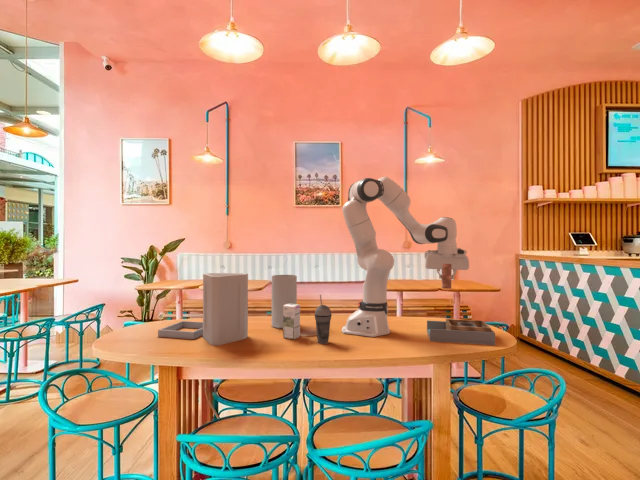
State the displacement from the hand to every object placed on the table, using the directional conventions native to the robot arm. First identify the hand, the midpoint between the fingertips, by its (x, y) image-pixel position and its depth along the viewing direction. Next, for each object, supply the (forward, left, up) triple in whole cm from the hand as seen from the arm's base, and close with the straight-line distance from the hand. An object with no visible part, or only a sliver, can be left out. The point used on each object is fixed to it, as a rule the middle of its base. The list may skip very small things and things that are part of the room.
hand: (446, 278), depth 169 cm
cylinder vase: (-79, -14, -25) cm, 84 cm away
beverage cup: (-54, -37, -25) cm, 70 cm away
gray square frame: (-118, -37, -24) cm, 126 cm away
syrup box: (-69, -33, -25) cm, 80 cm away
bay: (+3, -16, -24) cm, 29 cm away
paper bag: (-97, -44, -25) cm, 109 cm away
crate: (+7, -16, -23) cm, 29 cm away
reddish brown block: (0, 0, -5) cm, 5 cm away
